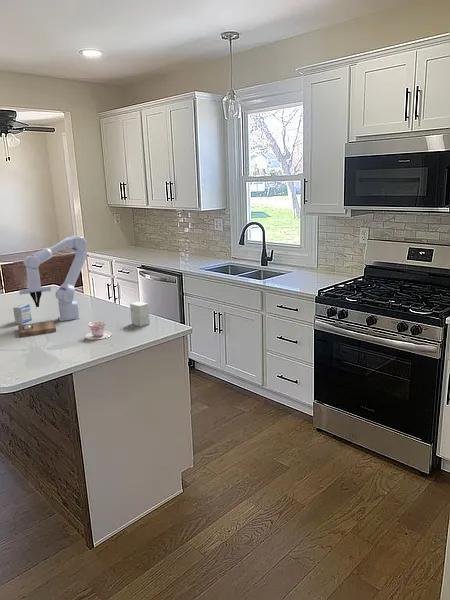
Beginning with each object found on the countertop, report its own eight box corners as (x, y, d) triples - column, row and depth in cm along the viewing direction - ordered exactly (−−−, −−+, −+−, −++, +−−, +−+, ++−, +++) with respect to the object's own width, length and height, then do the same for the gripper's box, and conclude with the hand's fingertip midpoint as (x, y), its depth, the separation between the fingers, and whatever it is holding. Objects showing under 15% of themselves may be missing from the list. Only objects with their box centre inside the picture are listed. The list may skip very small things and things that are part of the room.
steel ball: (23, 325, 223) (31, 326, 225) (22, 332, 222) (30, 333, 224) (25, 323, 220) (32, 325, 222) (24, 331, 219) (31, 332, 221)
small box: (150, 324, 230) (148, 303, 227) (141, 326, 226) (139, 305, 223) (140, 321, 235) (138, 301, 232) (131, 323, 231) (129, 303, 228)
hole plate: (53, 324, 234) (52, 320, 234) (56, 331, 222) (55, 327, 221) (18, 329, 227) (18, 325, 227) (20, 337, 215) (19, 333, 215)
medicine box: (22, 324, 236) (20, 307, 234) (15, 324, 237) (12, 307, 235) (32, 319, 243) (29, 303, 241) (24, 319, 244) (22, 303, 242)
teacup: (84, 334, 217) (82, 321, 216) (110, 330, 221) (108, 318, 220) (86, 342, 206) (84, 328, 205) (113, 338, 210) (112, 325, 209)
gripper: (18, 283, 222) (22, 310, 225) (50, 279, 228) (53, 306, 231) (17, 280, 228) (21, 307, 232) (48, 277, 234) (52, 303, 238)
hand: (37, 306), depth 232 cm, fingers closed
